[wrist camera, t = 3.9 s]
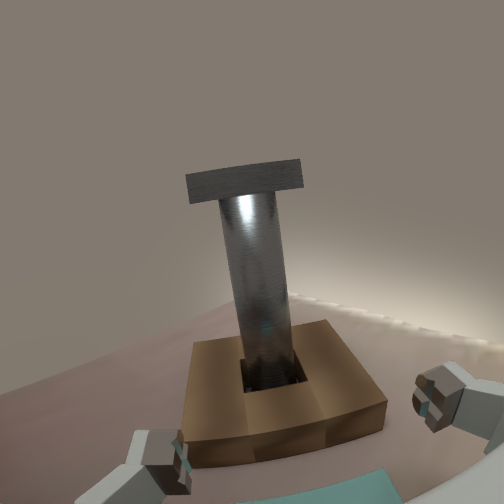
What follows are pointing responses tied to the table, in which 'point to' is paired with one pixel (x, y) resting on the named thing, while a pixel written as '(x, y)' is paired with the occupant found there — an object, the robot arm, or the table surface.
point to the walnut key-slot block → (277, 401)
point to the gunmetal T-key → (255, 261)
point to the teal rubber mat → (346, 492)
